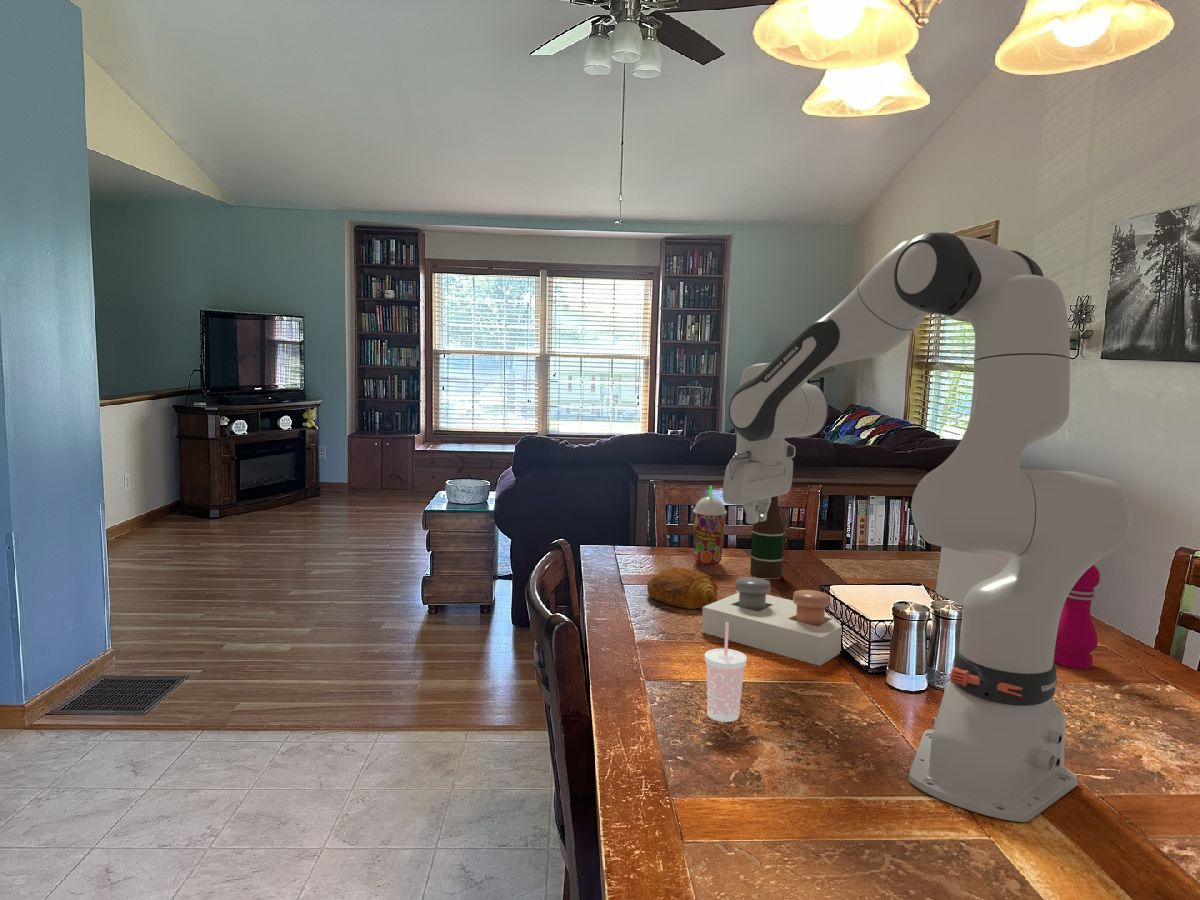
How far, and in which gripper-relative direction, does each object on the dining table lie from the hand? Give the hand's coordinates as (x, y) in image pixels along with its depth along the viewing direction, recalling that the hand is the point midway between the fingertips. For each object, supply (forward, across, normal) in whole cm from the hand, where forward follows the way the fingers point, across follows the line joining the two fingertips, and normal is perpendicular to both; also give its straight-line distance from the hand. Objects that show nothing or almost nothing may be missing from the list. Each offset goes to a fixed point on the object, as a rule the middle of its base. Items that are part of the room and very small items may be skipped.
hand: (756, 522), depth 156 cm
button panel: (+21, 0, -6) cm, 22 cm away
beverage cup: (+21, -36, -16) cm, 45 cm away
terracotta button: (+18, 0, -12) cm, 22 cm away
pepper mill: (+21, +25, -50) cm, 60 cm away
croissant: (+22, +7, +20) cm, 30 cm away
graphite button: (+18, 0, 0) cm, 18 cm away
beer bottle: (+21, +37, +17) cm, 46 cm away
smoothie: (+21, +36, +33) cm, 53 cm away
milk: (+21, +37, -30) cm, 52 cm away
